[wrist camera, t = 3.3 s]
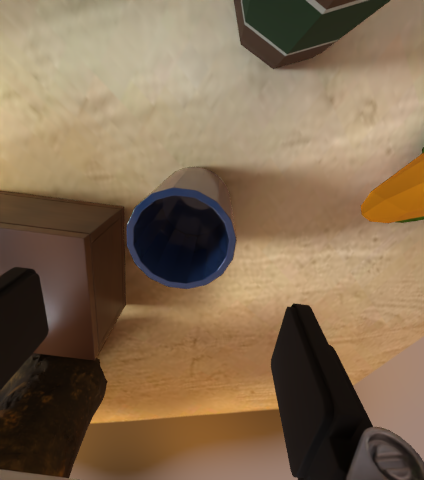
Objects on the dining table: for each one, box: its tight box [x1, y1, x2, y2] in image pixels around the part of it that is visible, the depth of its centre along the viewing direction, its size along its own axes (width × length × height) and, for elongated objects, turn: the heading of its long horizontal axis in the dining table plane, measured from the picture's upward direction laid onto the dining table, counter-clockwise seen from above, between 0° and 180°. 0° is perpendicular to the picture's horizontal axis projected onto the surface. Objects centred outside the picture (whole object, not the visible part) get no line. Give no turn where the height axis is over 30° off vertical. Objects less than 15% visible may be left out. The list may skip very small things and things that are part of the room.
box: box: [0, 191, 126, 352], centre depth 23 cm, size 13×12×7 cm
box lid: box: [0, 223, 99, 360], centre depth 20 cm, size 13×12×1 cm
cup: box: [127, 167, 236, 289], centre depth 20 cm, size 7×7×9 cm
